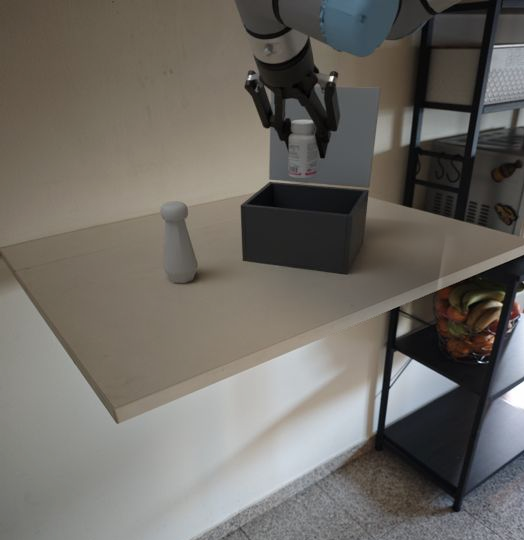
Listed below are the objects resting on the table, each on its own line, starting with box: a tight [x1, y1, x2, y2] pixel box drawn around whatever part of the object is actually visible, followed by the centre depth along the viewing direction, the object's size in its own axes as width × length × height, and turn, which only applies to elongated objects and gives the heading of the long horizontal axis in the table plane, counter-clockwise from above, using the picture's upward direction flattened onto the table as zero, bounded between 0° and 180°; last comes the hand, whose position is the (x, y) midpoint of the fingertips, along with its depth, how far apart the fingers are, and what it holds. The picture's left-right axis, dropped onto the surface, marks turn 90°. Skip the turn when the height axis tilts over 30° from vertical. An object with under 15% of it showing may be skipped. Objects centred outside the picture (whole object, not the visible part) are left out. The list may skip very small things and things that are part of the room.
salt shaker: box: [159, 200, 199, 284], centre depth 82 cm, size 6×6×13 cm
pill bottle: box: [288, 120, 317, 178], centre depth 82 cm, size 5×5×8 cm
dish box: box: [240, 181, 370, 275], centre depth 92 cm, size 16×20×10 cm
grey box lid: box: [268, 85, 382, 189], centre depth 91 cm, size 16×20×1 cm
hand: (308, 150), depth 86 cm, fingers closed on pill bottle, 5 cm apart
